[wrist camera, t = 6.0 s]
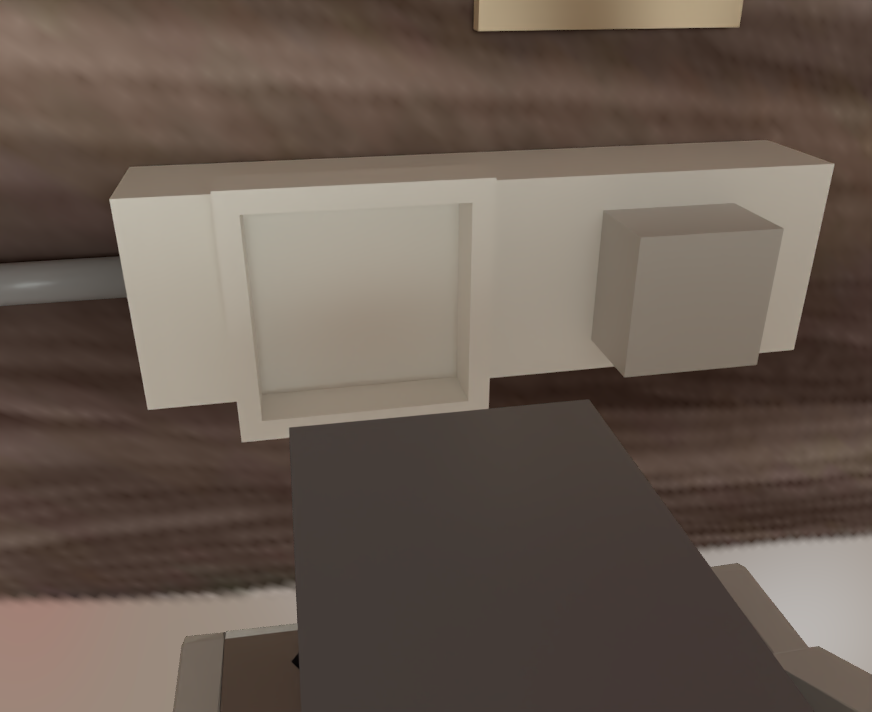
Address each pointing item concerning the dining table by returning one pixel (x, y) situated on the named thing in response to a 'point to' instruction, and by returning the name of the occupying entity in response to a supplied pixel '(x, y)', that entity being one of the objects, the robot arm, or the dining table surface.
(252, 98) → the dining table surface
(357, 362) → the power strip
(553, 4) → the coaster
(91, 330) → the dining table surface
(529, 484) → the block
